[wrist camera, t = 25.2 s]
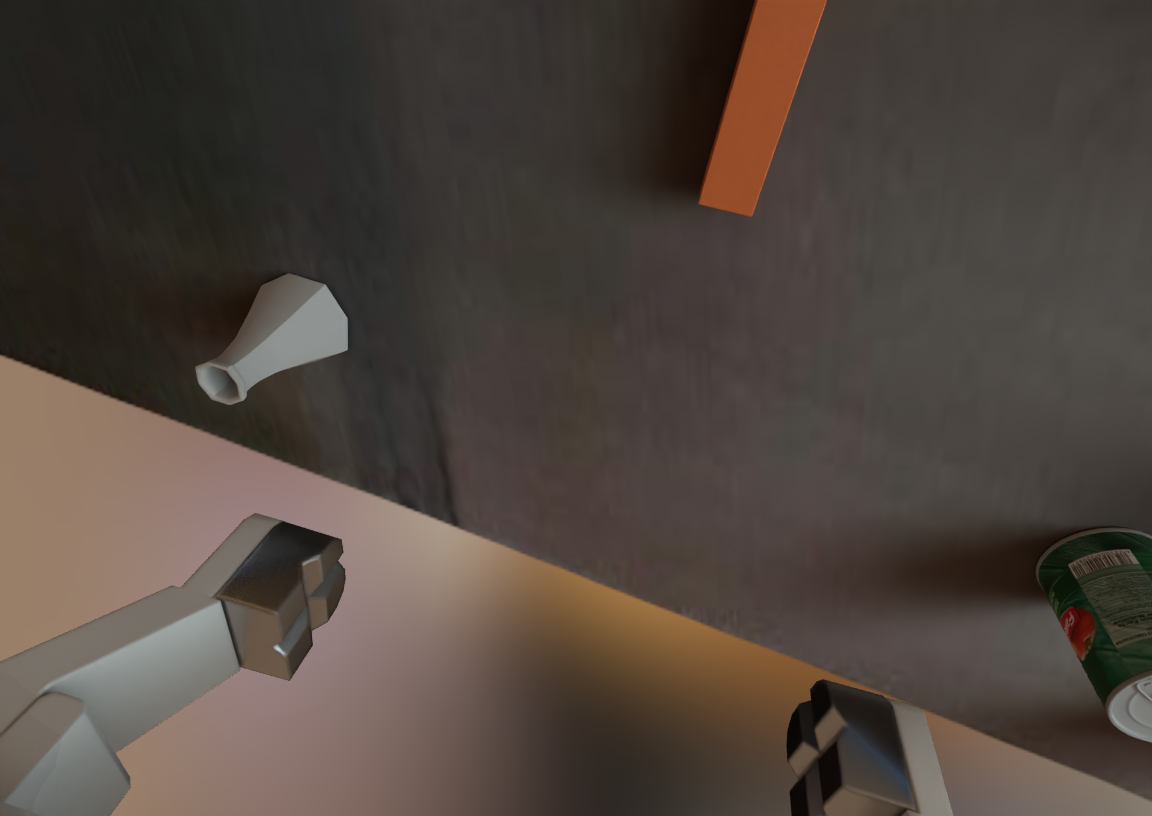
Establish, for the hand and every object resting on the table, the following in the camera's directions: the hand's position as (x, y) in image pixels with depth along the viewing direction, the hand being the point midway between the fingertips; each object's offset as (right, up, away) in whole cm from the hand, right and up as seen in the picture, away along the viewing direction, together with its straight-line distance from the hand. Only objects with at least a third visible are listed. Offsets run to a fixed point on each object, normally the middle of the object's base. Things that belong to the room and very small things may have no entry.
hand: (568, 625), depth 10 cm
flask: (-20, +11, +37) cm, 43 cm away
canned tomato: (+38, -8, +34) cm, 52 cm away
